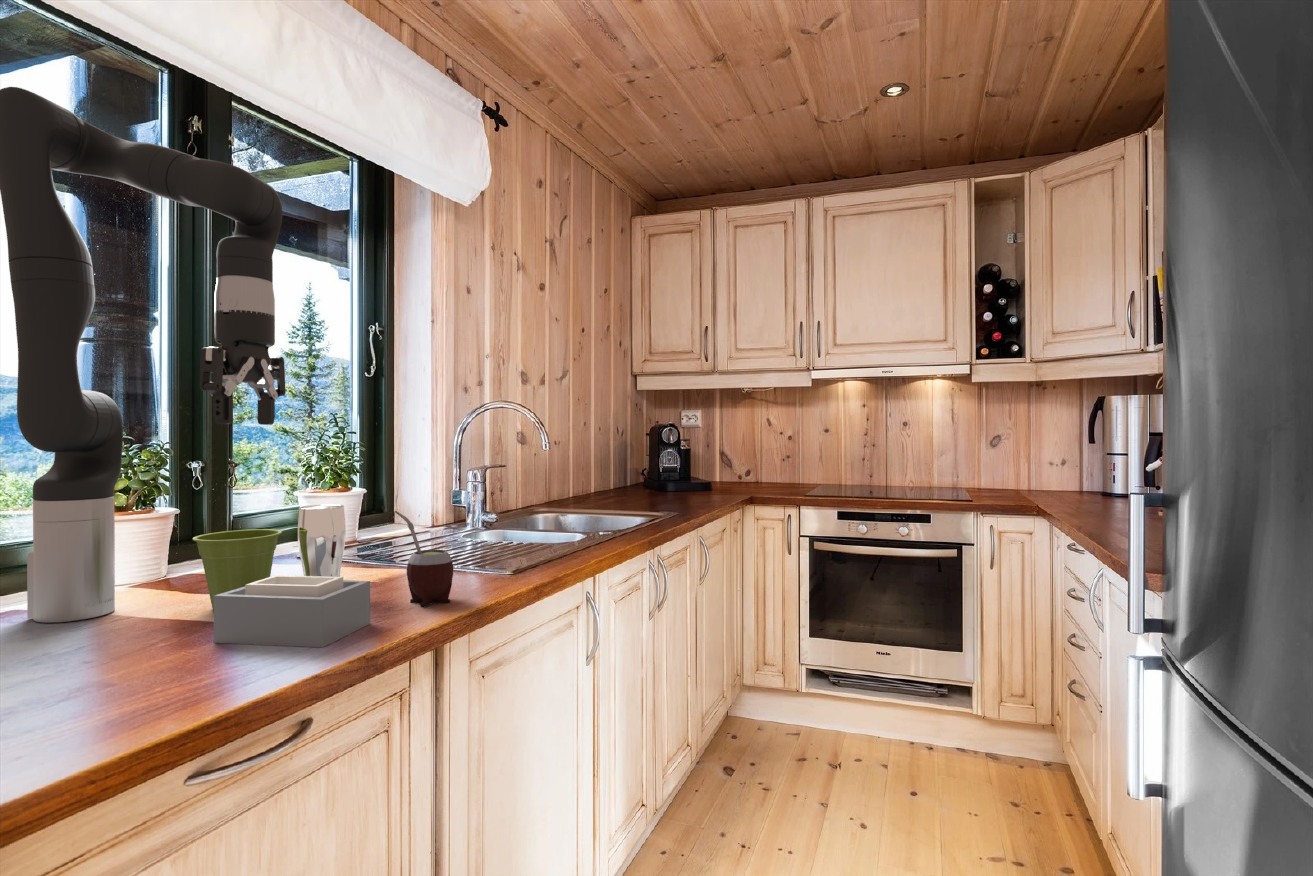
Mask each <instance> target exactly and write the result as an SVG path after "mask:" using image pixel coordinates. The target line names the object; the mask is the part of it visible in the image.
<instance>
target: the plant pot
mask: <svg viewBox="0 0 1313 876" xmlns="http://www.w3.org/2000/svg"><path fill="white" fill-rule="evenodd" d="M282 533H283V532H282V531H281V530H279V529H273V528H272V529H269V528H262V529H261V528H260V529H259V528H258V529H255V528H254V529H253V528H252V529H239V530H236V529H235V530H225V531H219V532H218V531H217V532H211V533H205V534H200V535H196V536H194V537H192V541H194V542H196V545H197V549H198V554H199V556H200V557H201V561H202V567H203V570H204V575H205V579H206V584H207V585H206V586H207V589H208V593H209V600H210V603H211V608H212V610H213V611H214V596H215V595H218V594H221V593H225V592H228V591H231V590H235V589H238V588H241V587H245V585H246V584H249V583H252V582H255V581H259V580H262V579H265V578H268V577H271V574H272V567H273V560H274V556H275V555H274V554H275V550H276V548H277V545H278V539H279V536H280V535H282Z"/></svg>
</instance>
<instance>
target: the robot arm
mask: <svg viewBox="0 0 1313 876" xmlns="http://www.w3.org/2000/svg"><path fill="white" fill-rule="evenodd" d="M53 171H57V172H64V173H71V174H78V175H85V176H93V177H99V178H103V179H108V180H113V181H117V182H120V183H122V184H126V185H129V186H131V187H134V188H136V189H139V190H142V191H143V192H144V191H145V192H146V193H149V194H152V195H155V196H156V197H157V196H158V197H161V198H165V199H167V200H170V201H174V202H175V203H179V204H183V205H185V206H189V207H199V208H200V207H201V208H204V209H207V210H210V211H212V212H215V213H218V214H220V215H222V216H225V217H227V218H229V219H231V220H233V221H235V227H234V231H233V235H231V236H226V237H223V238H221V239H220V240H219V241H218V243H217V247H216V281H215V282H216V284H215V290H214V341H215V342H216V343H217V344H219V345H220V346H208V347H206V346H205V347H201V350H200V362H199V363H200V364H199V365H200V366H199V367H200V368H199V389H200V391H203V392H207V393H209V395H210V396H211V397H212V400H213V401H212V405H213V406H212V407H213V408H212V411H213V412H212V413H213V414H212V416H213V419H214V423H215V424H217V425H231V424H232V423H233V420H234V419H233V416H234V415H233V413H234V412H233V411H234V410H233V408H234V407H233V404H234V403H233V402H234V401H233V400H234V399H233V396H232V394H233V393H234V390H235V389H236V387H237V386H240V385H241V384H243V383H245V384H248V386H249V387H250V388H251V389H253V390H254V392H255V394H256V396H257V398H258V400H257V423H258V424H259V425H260V426H262V425H263V426H264V425H271V426H272V425H273V424H274V423H275V419H276V412H275V411H276V404H275V403H276V400H277V399H278V397H281V396H282V397H284V396H285V395H286V373H285V372H286V371H285V370H286V369H285V368H286V367H285V358H284V357H283V356H270V354H269V349H270V348H272V347H273V346H275V343H276V323H275V322H276V312H275V311H276V309H275V308H276V307H275V306H276V302H275V293H274V291H275V290H274V283H273V281H274V280H273V278H274V277H273V276H274V275H273V274H274V273H273V271H274V269H273V267H274V266H273V262H274V261H273V254H274V252H275V249H276V247H277V243H278V239H279V234H280V231H281V227H282V223H283V206H282V201H281V198H280V196H279V194H278V192H277V191H276V190H275V188H274V187H273V186H272V185H270V184H269V183H267V182H265V181H263V180H262V179H261V178H259V177H257V176H255V175H254V174H252V173H250V172H249V171H247V170H244V169H243V168H240V167H237V166H235V165H233V164H230V163H226V162H223V161H218V160H213V159H206V158H199V157H197V156H194V155H192V154H188V153H185V152H182V151H179V150H176V149H173V148H170V147H167V146H163V145H159V144H154V143H150V142H143V141H142V142H141V141H140V142H139V141H130V140H127V139H123V138H120V137H117V136H116V135H112V134H111V133H109V132H106V131H104V130H102V129H101V128H98V127H96V126H94V125H92V124H91V123H89V122H87V121H85V120H84V119H82V118H80V117H79V116H78V115H76V114H75V113H74V112H72V111H71V110H69V109H66V108H64V107H63V106H61V105H60V104H57V103H56V102H53V101H51V100H50V99H48V98H45V97H43V96H41V95H39V94H37V93H35V92H32V91H30V90H27V89H24V88H22V87H19V86H18V87H17V86H7V87H3V88H1V89H0V199H1V204H2V212H3V217H4V219H3V220H4V226H5V231H6V232H5V233H6V239H7V255H8V257H7V258H8V266H9V269H8V270H9V277H10V279H9V280H10V284H11V293H12V297H13V307H14V318H15V331H16V340H17V341H16V344H17V388H16V390H17V391H16V392H17V395H16V416H17V417H16V418H17V423H18V428H19V430H20V433H21V435H22V437H23V438H24V439H25V441H27V443H28V444H29V445H31V446H32V447H33V448H34V449H37V450H39V451H42V452H47V453H54V459H53V464H52V465H51V468H50V469H49V470H48V471H47V472H46V473H45V474H43V475H41V476H40V477H38V478H37V479H36V480H35V481H34V482H33V484H32V485H33V486H32V545H33V546H32V548H33V549H32V550H33V551H30V552H28V553H27V556H26V562H27V563H26V565H27V566H26V567H27V568H26V569H27V570H26V571H27V572H26V574H27V576H26V577H27V578H26V579H27V581H26V582H27V583H26V585H27V586H26V588H27V590H26V591H27V594H26V595H27V602H26V603H27V605H26V607H27V612H26V613H27V619H30V620H31V619H32V620H33V621H34V622H37V623H63V622H65V623H66V622H72V621H73V622H75V621H80V620H86V619H91V618H97V617H101V616H104V615H107V614H110V613H113V612H114V611H115V609H116V606H115V605H116V604H115V603H116V602H115V600H116V597H115V593H116V589H115V588H116V587H115V586H116V585H115V583H116V580H115V579H116V575H115V573H116V569H115V568H116V567H115V565H116V562H115V561H116V559H115V558H116V557H115V555H116V554H115V551H116V549H115V547H116V546H115V545H116V544H115V540H116V539H115V537H116V536H115V535H116V534H115V528H116V527H115V525H116V524H115V487H116V484H117V482H118V480H119V478H120V476H121V475H120V474H121V472H122V458H123V439H124V436H123V435H124V423H123V417H122V412H121V409H120V408H119V405H117V403H116V402H115V401H114V400H113V398H111V397H110V396H108V394H105V393H103V392H99V391H97V390H96V391H95V390H89V389H82V387H81V383H80V376H79V375H80V374H79V367H78V349H79V344H80V341H81V338H82V335H83V333H84V331H85V329H86V327H87V326H88V323H89V320H90V319H91V316H92V313H93V310H94V308H95V303H96V287H95V277H94V269H93V262H92V257H91V254H90V250H89V249H88V246H87V244H86V242H85V240H84V238H83V237H82V235H81V233H80V232H79V229H78V228H77V227H76V225H75V223H74V222H73V220H72V218H71V217H70V215H69V213H68V212H67V210H66V209H65V206H64V205H63V203H62V202H61V199H60V197H59V195H58V193H57V189H56V186H55V182H54V178H53ZM211 374H212V381H210V380H211V378H210V377H211ZM275 381H276V382H277V387H275V386H274V385H275Z"/></svg>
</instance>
